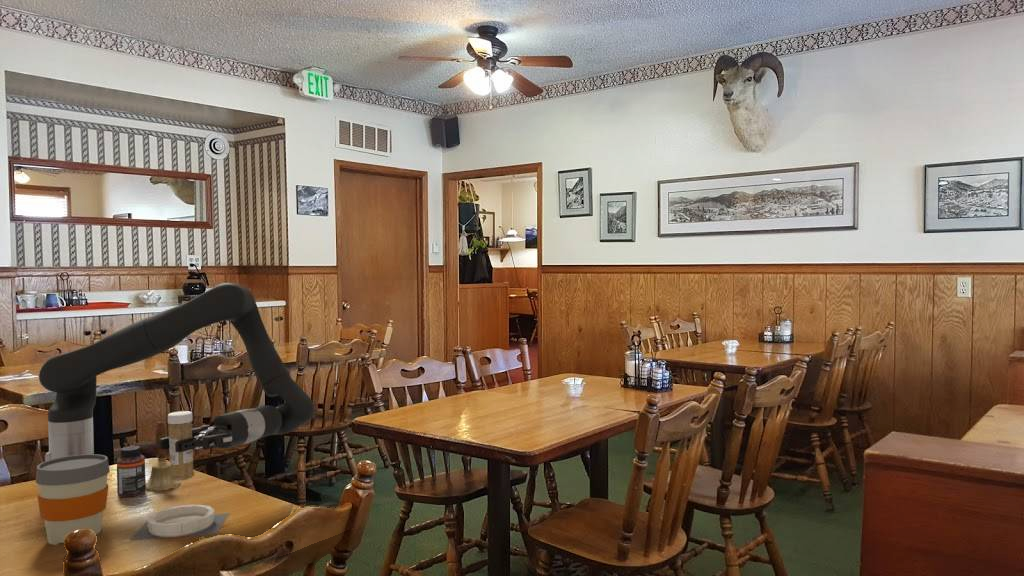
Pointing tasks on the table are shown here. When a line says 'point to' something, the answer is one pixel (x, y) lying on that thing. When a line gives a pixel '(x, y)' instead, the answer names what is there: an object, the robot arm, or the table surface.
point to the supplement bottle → (131, 473)
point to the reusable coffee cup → (72, 494)
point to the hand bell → (161, 466)
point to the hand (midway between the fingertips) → (168, 445)
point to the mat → (213, 529)
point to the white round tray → (180, 520)
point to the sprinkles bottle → (179, 431)
